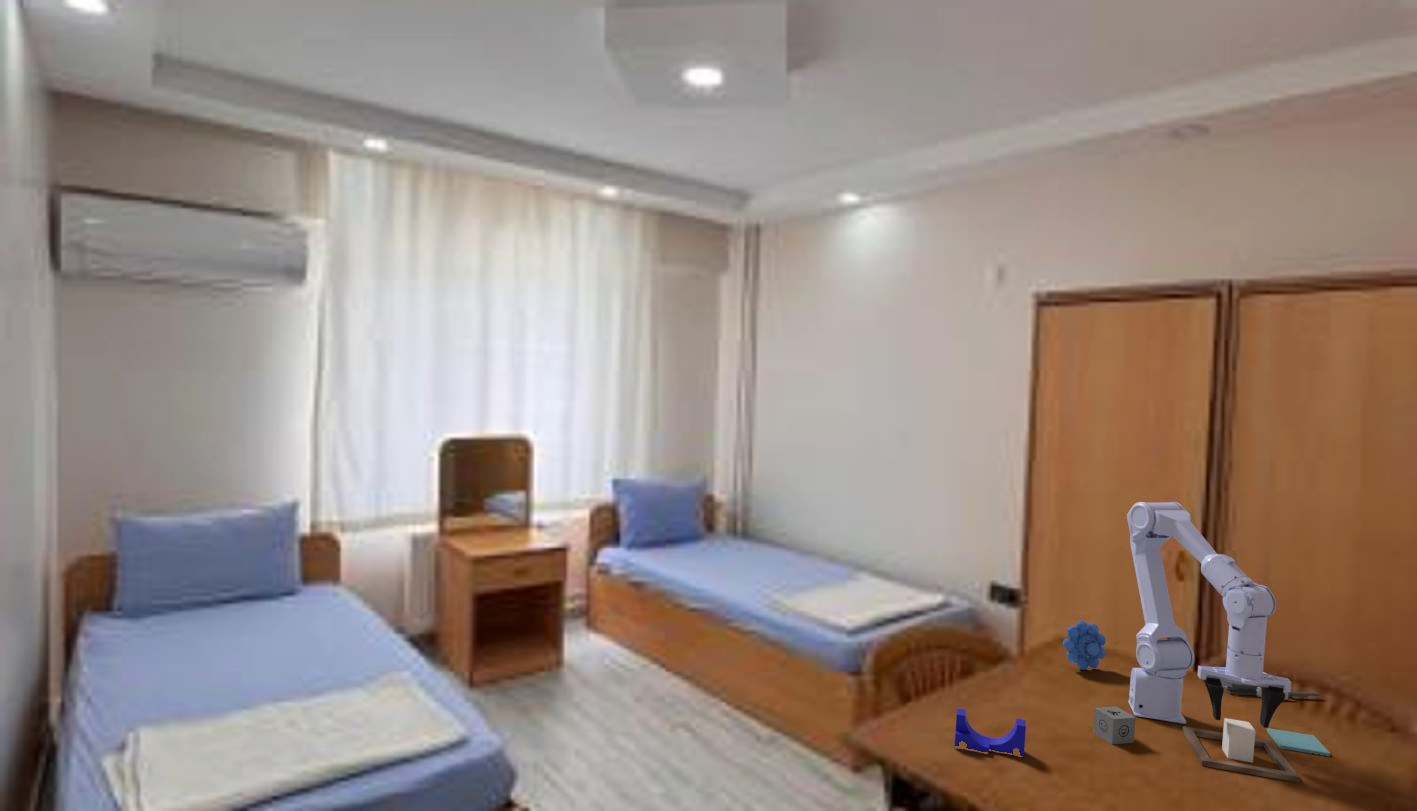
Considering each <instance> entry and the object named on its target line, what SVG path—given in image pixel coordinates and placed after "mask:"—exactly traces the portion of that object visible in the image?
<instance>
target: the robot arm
mask: <svg viewBox="0 0 1417 811" xmlns="http://www.w3.org/2000/svg"><path fill="white" fill-rule="evenodd" d="M1126 518H1127V523H1128V524H1127V525H1128V530H1129V534H1130V536H1129V544H1130V549H1131V554H1132V560H1133V565H1134V571H1135V575H1136V581H1137V587H1138V592H1139V596H1140V597H1139V598H1140V603H1141V608H1142V613H1143V618H1144V626H1143V627H1142V628H1141V629H1140V630H1139V632H1137V634H1136V635H1135V637H1136V649H1135V654H1136V660H1137V662H1138V664H1139V666H1140V667H1132V669H1131V672H1130V683H1129V694H1128V696H1129V697H1128V701H1127V702H1128V704H1129V706H1130V708H1131V712H1133V716H1134V717H1140V718H1146V719H1147V718H1148V719H1153V720H1158V721H1165V722H1170V723H1177V724H1184V725H1186V724H1187V720H1186V718H1185V717H1184V715H1183V714H1182V701H1183V700H1182V699H1183V687H1184V676H1187V670H1189V669H1191V668H1192V667H1193V666H1194V663H1195V653H1194V650H1193V648H1192V646H1191V644H1190V643H1189V641H1188V636H1187V633H1186V632H1185V631H1184V630H1183V629H1181V627H1179V626H1178V625H1176V623H1175V619H1174V618H1175V617H1174V614H1173V607H1172V602H1171V598H1170V592H1169V589H1168V588H1169V587H1168V582H1167V578H1166V572H1165V567H1164V561H1163V557H1162V552H1161V548H1162V546H1163V545H1164V544H1165V543H1166V542H1167V541H1169V540H1170V539H1171V538H1173V539H1175V540H1176V541H1177V542H1178V543H1179V544H1180V545H1181V546H1182V547H1183V548H1184V549H1185V550H1186V551H1187V552H1188V553H1190V555H1192V557H1194V558H1195V559H1196V560H1197V561H1198V562H1199V563H1200V565H1201V566H1200V572H1201V574H1202V575H1203V576H1204V578H1205V579H1206V581H1208V582H1209V583H1210V584H1211V586H1212V587H1213V588H1214V589H1215V590H1216V591H1217V592H1218V593H1219V594H1220V596H1222V605H1223V607H1224V609H1225V611H1226V614H1227V616H1226V621H1227V623H1228V636H1227V647H1226V660H1225V661H1226V662H1225V663H1226V664H1225V666H1224V667H1223V666H1222V667H1221V666H1206V665H1205V666H1203V665H1197V677H1198V678H1199V680H1203V683H1204V685H1205V687H1206V690H1207V692H1208V695H1209V698H1210V703H1211V708H1212V714H1213V715H1212V716H1213V718H1214V719H1215V721H1221V719H1222V702H1223V696H1224V693H1225V692H1224V690H1225V689H1224V688H1223V687H1222V683H1221V682H1220V681H1225V682H1232V683H1239V684H1246V685H1253V686H1260V687H1261V690H1262V697H1261V708H1260V715H1259V716H1260V717H1259V723H1260V725H1261V726H1262V727H1263V728H1266V729H1267V728H1269V726H1270V722H1271V721H1272V718H1273V716H1274V714H1275V712H1276V710H1277V709H1278V708H1279V706H1280V705H1281V704H1282V703H1283V702H1284V701H1285V700H1284V699H1285V693H1284V692H1283V691H1287V692H1292V681H1291V680H1290V679H1289V678H1287V677H1282V676H1277V675H1274V674H1273V675H1272V674H1270V673H1267V674H1264V673H1263V672H1264V662H1265V660H1264V659H1265V648H1266V636H1267V635H1266V634H1267V623H1268V622H1267V621H1268V617H1270V616H1272V615H1273V614H1274V613H1275V612H1276V608H1277V601H1276V597H1275V596H1274V594H1273V593H1272V592H1271V589H1270V588H1269V587H1267V586H1265V585H1263V584H1258V583H1257V582H1255V581H1253V579H1252V578H1250V577H1248V576H1247V574H1246V573H1245V572H1244V571H1243V570H1242V569H1241V568H1240V567H1239V566H1238V565H1237V564H1236V560H1235V558H1233V557H1232V556H1228V555H1226V554H1222V553H1221V554H1219V553H1217V552H1216V551H1215V549H1214V548H1213V546H1212V545H1211V544H1210V543H1209V542H1208V540H1206V538H1205V537H1204V536H1203V535H1202V533H1201V532H1200V531H1199V529H1198V528H1197V527H1196V525H1195V524H1193V522H1192V520H1191V519H1192V517H1191V513H1190V512H1189V511H1187V510H1186V509H1185V507H1184V506H1183V505H1182V504H1181V503H1179V502H1177V501H1169V502H1144V501H1137V502H1136V503H1134V504H1132V506H1131V508H1130V510H1129V511H1128V513H1127V514H1126ZM1161 638H1162V639H1161ZM1159 639H1160V640H1159Z"/></svg>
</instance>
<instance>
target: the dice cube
mask: <svg viewBox="0 0 1417 811" xmlns="http://www.w3.org/2000/svg"><path fill="white" fill-rule="evenodd" d="M1136 718H1137V716H1135V715H1132V714H1130V713H1129V712H1127V711H1125V710H1123V709H1121V708H1120V707H1118V706H1103V707H1095V708H1094V718H1093V730H1092V732H1093V734H1095V735H1096V736H1098V737H1099V738H1101V739H1103V740H1104V741H1106V742H1107V743H1108V744H1110V745H1122V744H1132V743H1135V734H1136V733H1135V731H1136Z"/></svg>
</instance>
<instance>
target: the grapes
mask: <svg viewBox="0 0 1417 811" xmlns="http://www.w3.org/2000/svg"><path fill="white" fill-rule="evenodd" d="M1066 635H1067V636H1068V637H1067V638H1064V640H1063V641H1062V647H1063V648H1064V650H1067V653H1066V659H1067V661H1069V662H1070V663H1072V664H1076V666H1077V668H1078V669H1080V670H1082V671H1085V670H1087V669H1089V667H1090V669H1096V668H1098V667H1099V665H1100V660H1102V659H1104V658H1105V657H1106V656H1107V655H1106V654H1107V653H1106V652H1107V651H1106V650H1105V648H1104V645H1106V643H1107V639H1106V637H1105V635H1104V634H1102V633H1100V628H1099V626H1098V625H1097V624H1095V623H1092V622H1090V623H1087V622H1086V621H1085V620H1082V619H1080V620H1078V621H1077V622H1076V623H1075V626H1073V625H1071V626H1068V627H1067V629H1066Z"/></svg>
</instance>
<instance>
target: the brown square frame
mask: <svg viewBox="0 0 1417 811" xmlns="http://www.w3.org/2000/svg"><path fill="white" fill-rule="evenodd" d="M1182 733H1183V735H1184V736H1185V737H1184V738H1186V741H1188V743H1189V746H1190V747H1191V749H1192V751H1193V753H1194V754H1195V756H1196V758H1197V759H1198V762H1199V763H1200V765H1201V766H1202V767H1208V768H1213V769H1218V770H1224V771H1230V772H1236V773H1243V774H1246V775H1247V774H1248V775H1253V776H1260V777H1265V778H1270V779H1276V780H1282V781H1286V782H1293V783H1298V784H1299V783H1300V780H1301V778H1300V776H1299V774H1298V773H1297V772H1296V770H1295V769H1294V768H1293V767H1292V766H1291V764H1290V763H1289V761H1288V760H1287V759H1286V758H1285V757H1284V755H1283V754H1282V753H1281V752H1280V750H1279V748H1277V746H1276V745H1275V744H1274V743H1273V741H1272V740H1270V739H1264V738H1263V739H1262V738H1257V737H1255V743H1254V747H1258V748H1259V747H1260V748H1264V750H1265V751H1266V753H1267V754H1268V755H1269V756H1270V758H1271V759H1272V760H1273V761H1274V763H1275V764H1276V766H1277V767H1278V768H1279V769H1274V768H1268V767H1264V766H1259V765H1258V766H1257V765H1252V764H1245V763H1239V762H1234V761H1230V760H1229V761H1228V760H1223V759H1218V758H1217V759H1216V758H1212V757H1209V755H1208V753H1207V751H1206V750H1205V748H1204V746H1203V745H1202V743H1201V742H1200V739H1199V738H1205V739H1211V740H1216V741H1223V732H1220V731H1216V730H1215V731H1214V730H1208V729H1202V728H1196V727H1189V726H1182ZM1198 737H1199V738H1198Z"/></svg>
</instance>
